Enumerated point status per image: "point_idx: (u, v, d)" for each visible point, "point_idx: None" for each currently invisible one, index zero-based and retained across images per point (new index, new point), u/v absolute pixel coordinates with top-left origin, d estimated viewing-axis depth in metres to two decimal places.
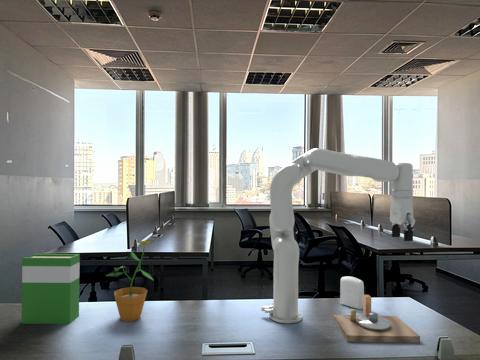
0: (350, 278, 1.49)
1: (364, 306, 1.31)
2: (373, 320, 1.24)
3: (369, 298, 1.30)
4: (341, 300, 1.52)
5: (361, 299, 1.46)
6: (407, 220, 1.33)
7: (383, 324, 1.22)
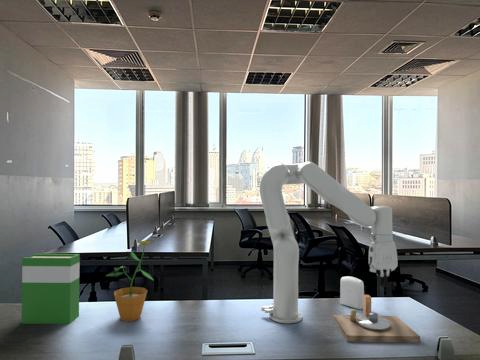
0: (350, 278, 1.49)
1: (364, 306, 1.31)
2: (373, 320, 1.24)
3: (369, 298, 1.30)
4: (341, 300, 1.52)
5: (361, 299, 1.46)
6: None
7: (383, 324, 1.22)
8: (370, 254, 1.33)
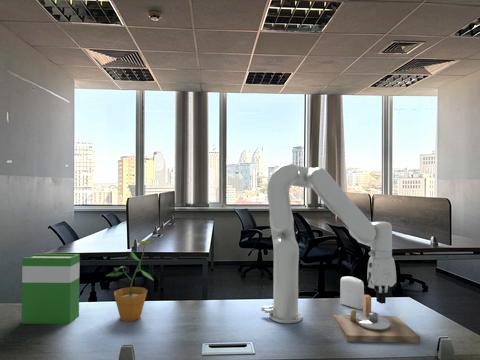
0: (350, 278, 1.49)
1: (364, 306, 1.31)
2: (373, 320, 1.24)
3: (369, 298, 1.30)
4: (341, 300, 1.52)
5: (361, 299, 1.46)
6: None
7: (383, 324, 1.22)
8: (369, 270, 1.33)
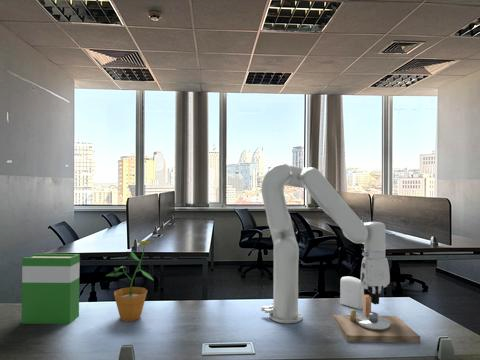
0: (350, 278, 1.49)
1: (364, 306, 1.31)
2: (373, 320, 1.24)
3: (369, 298, 1.30)
4: (341, 300, 1.52)
5: (361, 299, 1.46)
6: None
7: (383, 324, 1.22)
8: (362, 271, 1.32)
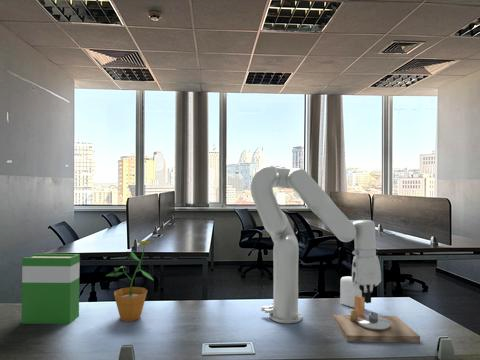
0: (350, 278, 1.49)
1: (357, 307, 1.30)
2: (375, 320, 1.24)
3: (363, 298, 1.30)
4: (341, 300, 1.52)
5: None
6: None
7: (384, 322, 1.24)
8: (353, 270, 1.31)
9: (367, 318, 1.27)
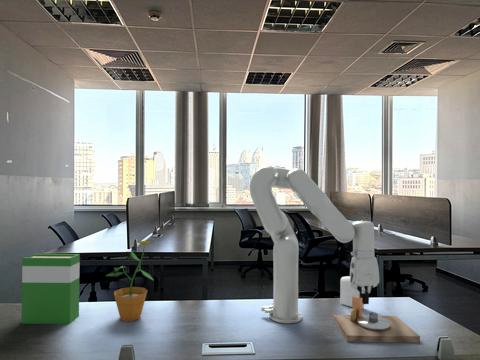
0: None
1: (355, 308, 1.29)
2: (376, 320, 1.24)
3: (361, 299, 1.29)
4: (341, 300, 1.52)
5: None
6: None
7: (384, 321, 1.24)
8: (351, 271, 1.31)
9: (366, 318, 1.27)
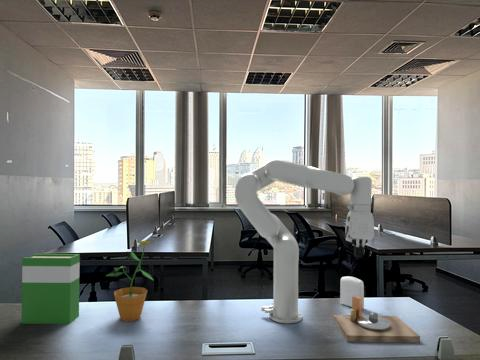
0: (350, 278, 1.49)
1: (355, 308, 1.29)
2: (376, 320, 1.24)
3: (361, 299, 1.29)
4: (341, 300, 1.52)
5: None
6: None
7: (384, 321, 1.24)
8: (347, 224, 1.33)
9: (366, 318, 1.27)
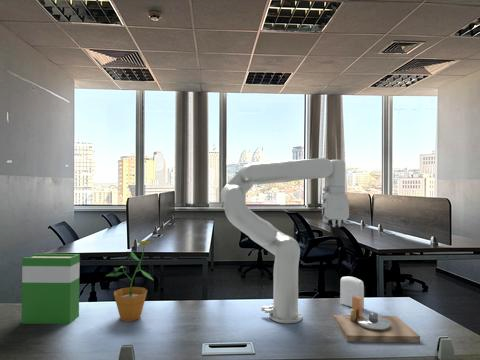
0: (350, 278, 1.49)
1: (355, 308, 1.29)
2: (376, 320, 1.24)
3: (361, 299, 1.29)
4: (341, 300, 1.52)
5: None
6: None
7: (384, 321, 1.24)
8: (323, 205, 1.39)
9: (366, 318, 1.27)
